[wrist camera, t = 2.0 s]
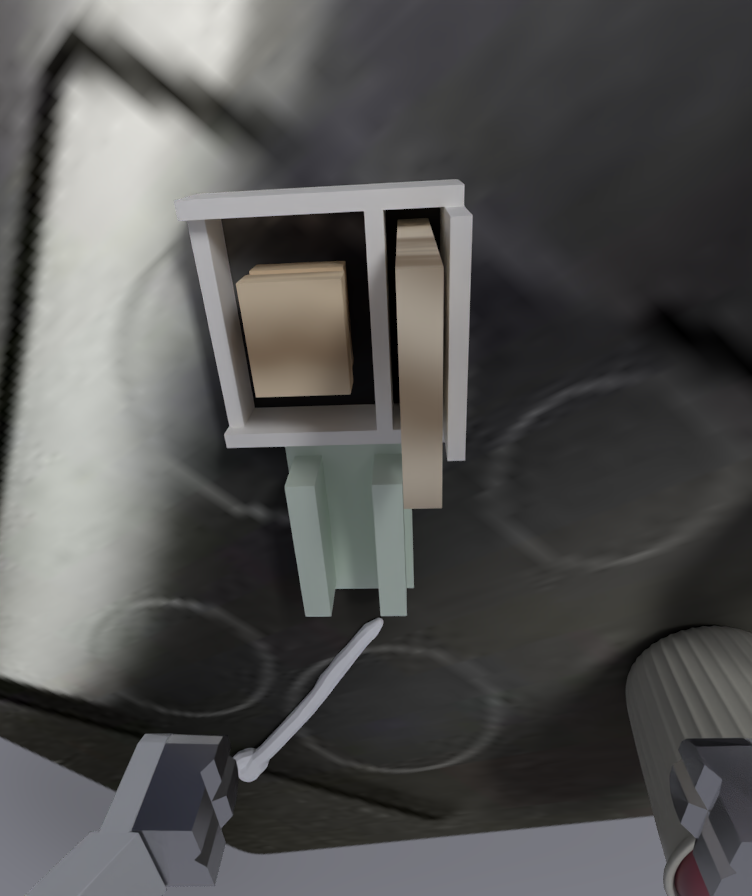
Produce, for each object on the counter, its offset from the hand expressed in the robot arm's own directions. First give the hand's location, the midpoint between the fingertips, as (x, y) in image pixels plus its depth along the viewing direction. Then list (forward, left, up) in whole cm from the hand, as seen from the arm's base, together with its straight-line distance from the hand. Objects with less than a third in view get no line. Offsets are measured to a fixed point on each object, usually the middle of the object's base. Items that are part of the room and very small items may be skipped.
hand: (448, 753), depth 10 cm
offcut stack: (0, -7, -29) cm, 30 cm away
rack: (0, -5, -29) cm, 30 cm away
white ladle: (+38, -12, -30) cm, 50 cm away
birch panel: (0, 0, -29) cm, 29 cm away
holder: (+16, -5, -29) cm, 34 cm away
